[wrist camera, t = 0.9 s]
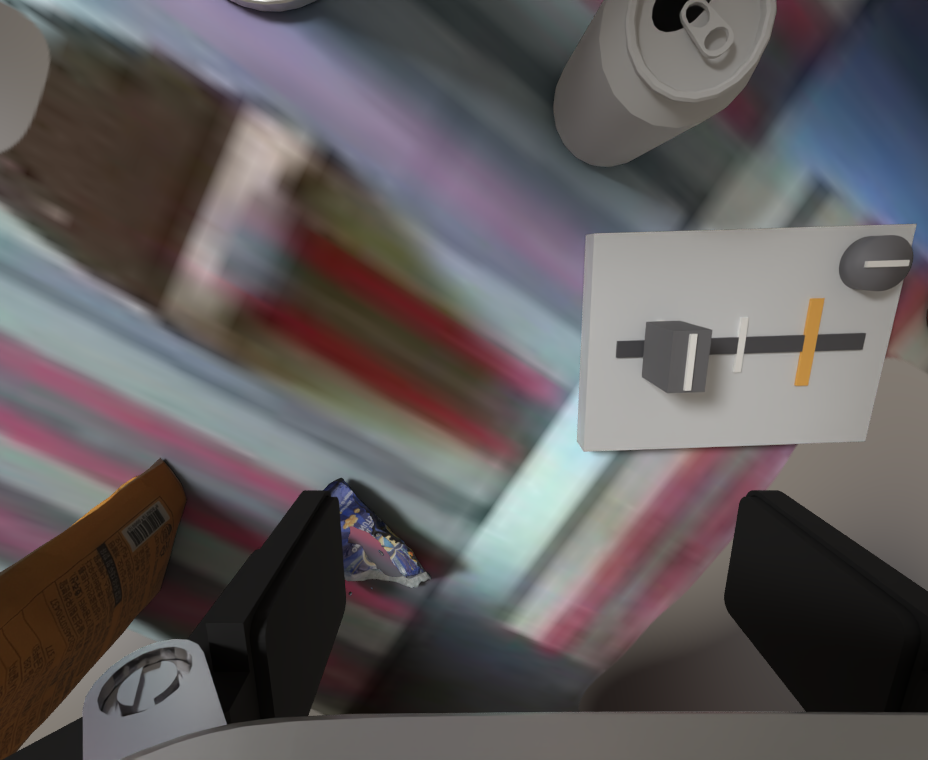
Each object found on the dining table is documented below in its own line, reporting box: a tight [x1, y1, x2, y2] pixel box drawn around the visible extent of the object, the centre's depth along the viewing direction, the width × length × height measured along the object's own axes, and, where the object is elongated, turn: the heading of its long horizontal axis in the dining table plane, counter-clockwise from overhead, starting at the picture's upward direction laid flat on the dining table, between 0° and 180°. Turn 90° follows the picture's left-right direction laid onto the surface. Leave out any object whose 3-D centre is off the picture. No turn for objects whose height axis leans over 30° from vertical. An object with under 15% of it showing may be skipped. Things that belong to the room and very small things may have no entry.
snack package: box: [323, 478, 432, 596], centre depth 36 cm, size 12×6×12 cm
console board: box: [577, 224, 917, 452], centre depth 32 cm, size 16×22×4 cm
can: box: [553, 0, 777, 167], centre depth 24 cm, size 8×8×12 cm
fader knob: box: [642, 321, 712, 393], centre depth 29 cm, size 4×2×4 cm, turn 2°
